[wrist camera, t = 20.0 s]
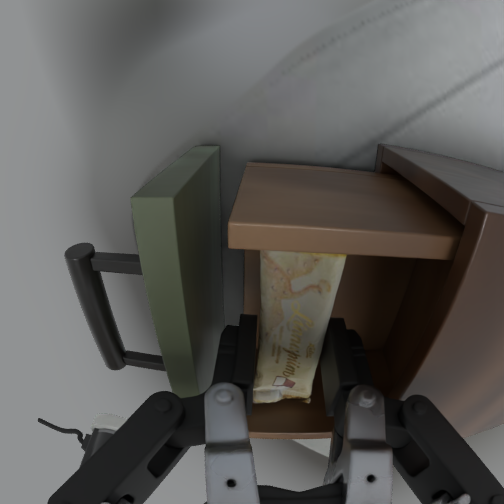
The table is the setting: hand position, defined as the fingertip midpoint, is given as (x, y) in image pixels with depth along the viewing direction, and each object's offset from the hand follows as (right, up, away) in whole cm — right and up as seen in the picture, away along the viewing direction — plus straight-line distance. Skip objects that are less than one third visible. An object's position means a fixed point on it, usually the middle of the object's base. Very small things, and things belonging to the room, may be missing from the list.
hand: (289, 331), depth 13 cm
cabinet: (+11, +2, +4) cm, 12 cm away
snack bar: (0, 0, 0) cm, 0 cm away
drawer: (-1, +2, +4) cm, 5 cm away
